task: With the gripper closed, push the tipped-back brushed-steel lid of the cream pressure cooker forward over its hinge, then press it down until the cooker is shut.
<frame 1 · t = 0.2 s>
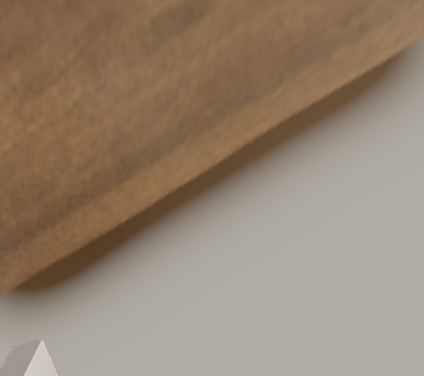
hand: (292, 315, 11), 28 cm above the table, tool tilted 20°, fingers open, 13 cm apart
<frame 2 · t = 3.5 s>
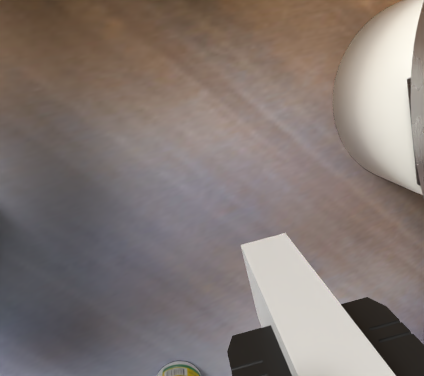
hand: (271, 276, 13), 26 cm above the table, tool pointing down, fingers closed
cooker pot: (419, 93, 39), on the table
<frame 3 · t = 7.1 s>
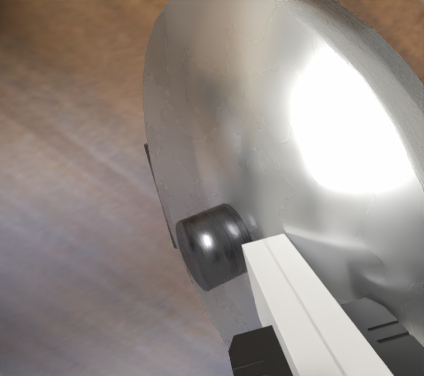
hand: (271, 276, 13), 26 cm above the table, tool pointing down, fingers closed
cooker lid: (241, 244, 15), point 24 cm above the table, hinge at 68.5°, touching gripper
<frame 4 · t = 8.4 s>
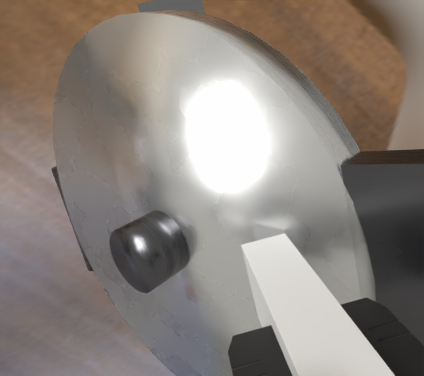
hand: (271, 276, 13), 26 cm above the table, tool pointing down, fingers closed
cooker pot: (201, 149, 38), on the table
cooker lid: (174, 244, 17), point 22 cm above the table, hinge at 49.3°, touching gripper
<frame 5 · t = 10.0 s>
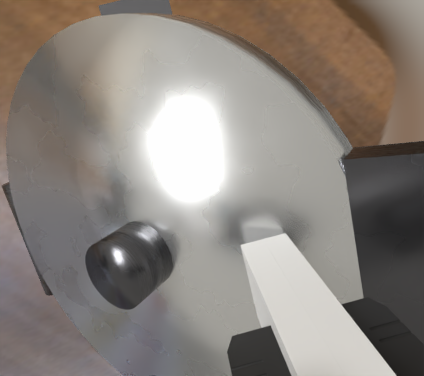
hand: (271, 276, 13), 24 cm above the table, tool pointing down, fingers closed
cooker pot: (179, 158, 36), on the table
cooker lid: (156, 256, 16), point 20 cm above the table, hinge at 39.1°, touching gripper
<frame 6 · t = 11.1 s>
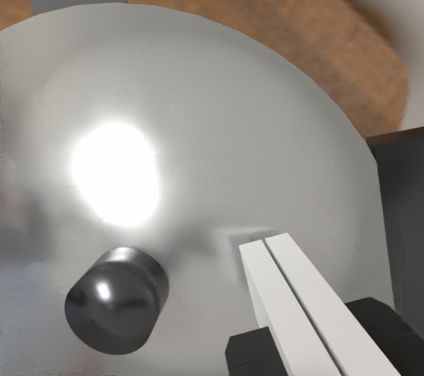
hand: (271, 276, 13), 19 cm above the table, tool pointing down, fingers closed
cooker pot: (153, 178, 30), on the table
cooker lid: (149, 284, 14), point 17 cm above the table, hinge at 17.0°, touching gripper
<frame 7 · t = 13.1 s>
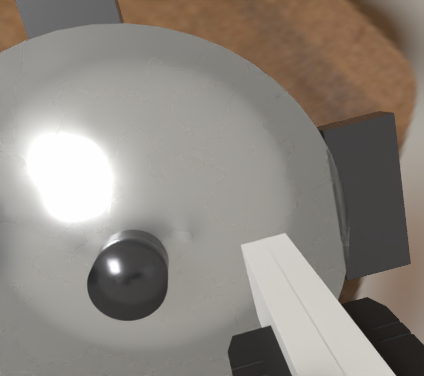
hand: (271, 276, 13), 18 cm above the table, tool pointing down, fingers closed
cooker pot: (152, 183, 30), on the table
cooker lid: (152, 259, 16), point 14 cm above the table, hinge at 0.0°
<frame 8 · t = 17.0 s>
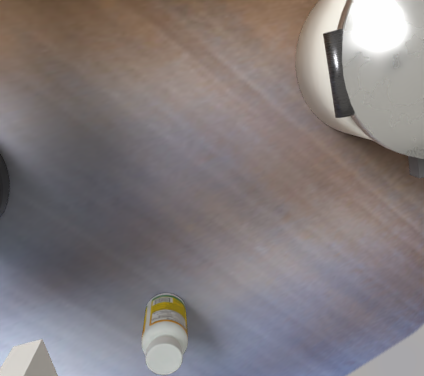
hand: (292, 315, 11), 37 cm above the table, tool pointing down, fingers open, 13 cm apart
cooker pot: (370, 58, 46), on the table
supplement bottle: (165, 309, 51), on the table
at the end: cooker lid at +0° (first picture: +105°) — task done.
